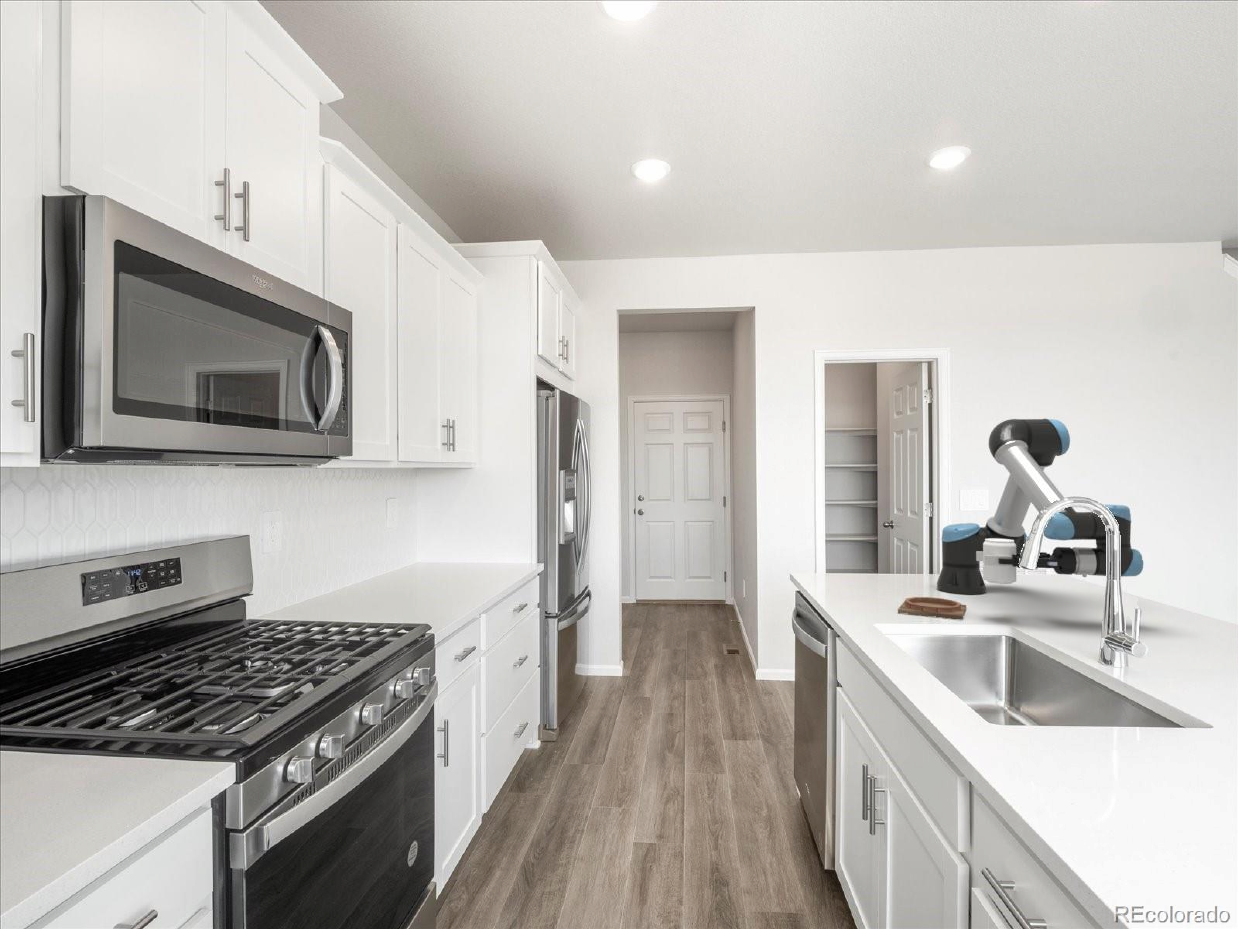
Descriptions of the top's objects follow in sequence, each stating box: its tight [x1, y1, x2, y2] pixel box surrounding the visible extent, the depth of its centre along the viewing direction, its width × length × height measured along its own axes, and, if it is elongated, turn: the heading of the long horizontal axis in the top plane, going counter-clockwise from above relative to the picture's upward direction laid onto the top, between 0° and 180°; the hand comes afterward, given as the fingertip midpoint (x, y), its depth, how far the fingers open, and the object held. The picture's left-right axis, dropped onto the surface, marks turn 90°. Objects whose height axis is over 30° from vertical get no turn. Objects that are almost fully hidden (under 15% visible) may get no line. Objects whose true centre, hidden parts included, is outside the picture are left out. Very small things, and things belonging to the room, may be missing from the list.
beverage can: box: [982, 538, 1017, 585], centre depth 182 cm, size 8×8×12 cm
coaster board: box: [897, 596, 967, 620], centre depth 194 cm, size 17×17×3 cm
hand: (980, 558), depth 183 cm, fingers closed on beverage can, 8 cm apart
